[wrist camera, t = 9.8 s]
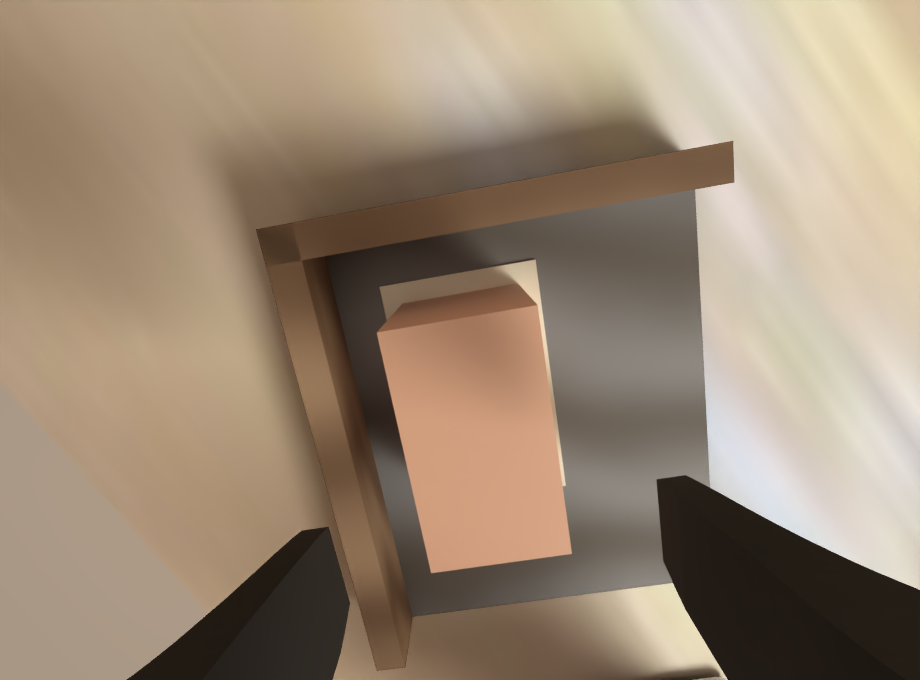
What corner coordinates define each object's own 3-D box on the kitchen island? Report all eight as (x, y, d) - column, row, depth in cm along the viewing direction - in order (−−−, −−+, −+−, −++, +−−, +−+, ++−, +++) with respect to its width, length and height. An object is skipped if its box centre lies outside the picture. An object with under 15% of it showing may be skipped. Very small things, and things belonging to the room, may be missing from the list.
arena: (708, 569, 21) (747, 624, 18) (389, 611, 22) (377, 670, 19) (686, 156, 17) (732, 140, 14) (291, 229, 17) (256, 229, 15)
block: (518, 283, 17) (537, 305, 12) (545, 471, 19) (571, 553, 14) (402, 303, 17) (376, 332, 13) (440, 486, 19) (431, 572, 14)
